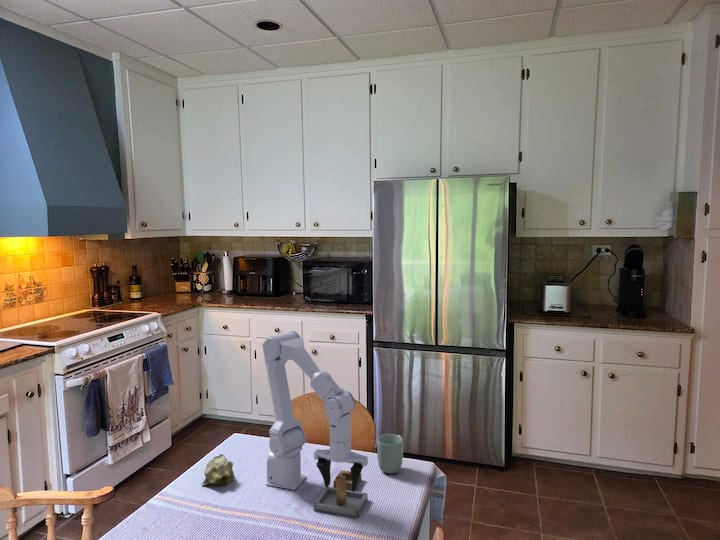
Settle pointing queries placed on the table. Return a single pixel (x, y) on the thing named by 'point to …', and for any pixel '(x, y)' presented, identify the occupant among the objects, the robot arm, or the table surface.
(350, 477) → the socket
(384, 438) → the cup
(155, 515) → the table surface
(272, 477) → the robot arm
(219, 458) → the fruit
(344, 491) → the pin
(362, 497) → the tray
